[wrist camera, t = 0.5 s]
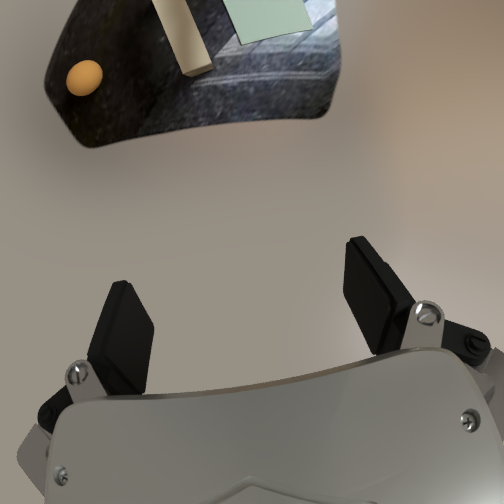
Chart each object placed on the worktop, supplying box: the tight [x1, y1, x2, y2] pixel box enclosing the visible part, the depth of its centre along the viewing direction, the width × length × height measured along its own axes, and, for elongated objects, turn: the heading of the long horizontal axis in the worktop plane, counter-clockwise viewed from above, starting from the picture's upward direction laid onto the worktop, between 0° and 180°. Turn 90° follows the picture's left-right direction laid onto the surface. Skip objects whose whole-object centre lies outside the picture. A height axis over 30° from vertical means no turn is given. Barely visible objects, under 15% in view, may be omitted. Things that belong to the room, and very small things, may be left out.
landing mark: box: [223, 0, 314, 45], centre depth 24 cm, size 10×10×1 cm
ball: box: [67, 60, 102, 96], centre depth 25 cm, size 5×5×5 cm
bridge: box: [152, 0, 214, 77], centre depth 22 cm, size 3×14×9 cm, turn 19°
